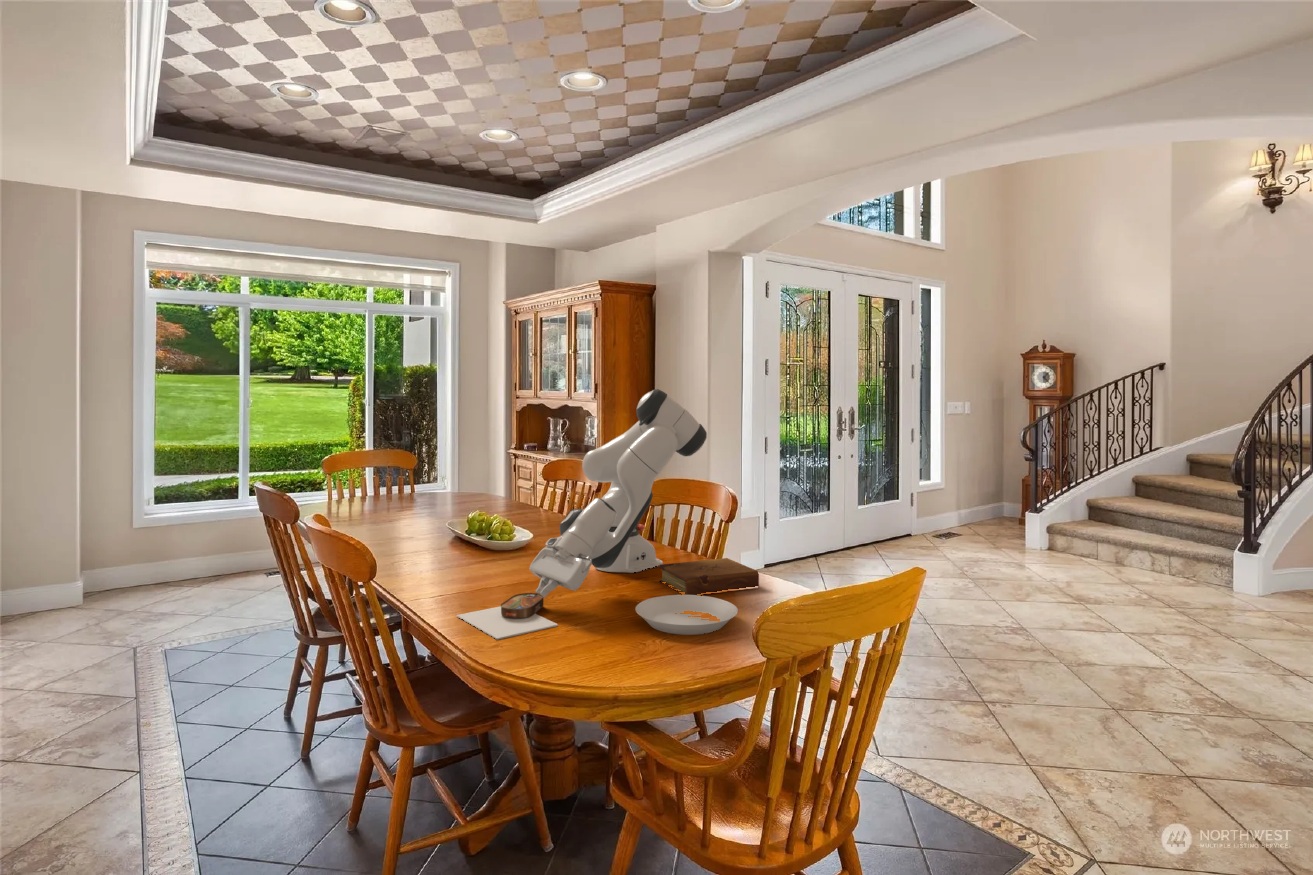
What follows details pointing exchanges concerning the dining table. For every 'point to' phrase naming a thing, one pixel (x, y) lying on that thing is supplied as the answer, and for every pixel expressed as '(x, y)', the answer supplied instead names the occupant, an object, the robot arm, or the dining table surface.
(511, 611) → the tin
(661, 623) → the bowl
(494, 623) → the mat
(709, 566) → the diary
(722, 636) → the dining table surface
